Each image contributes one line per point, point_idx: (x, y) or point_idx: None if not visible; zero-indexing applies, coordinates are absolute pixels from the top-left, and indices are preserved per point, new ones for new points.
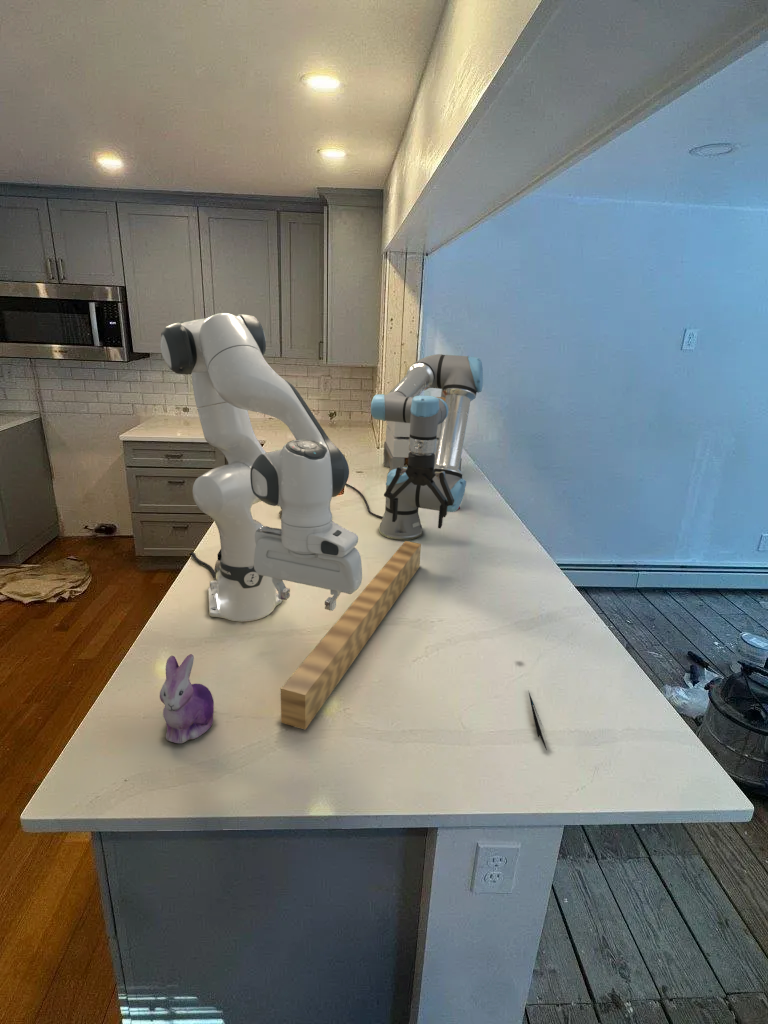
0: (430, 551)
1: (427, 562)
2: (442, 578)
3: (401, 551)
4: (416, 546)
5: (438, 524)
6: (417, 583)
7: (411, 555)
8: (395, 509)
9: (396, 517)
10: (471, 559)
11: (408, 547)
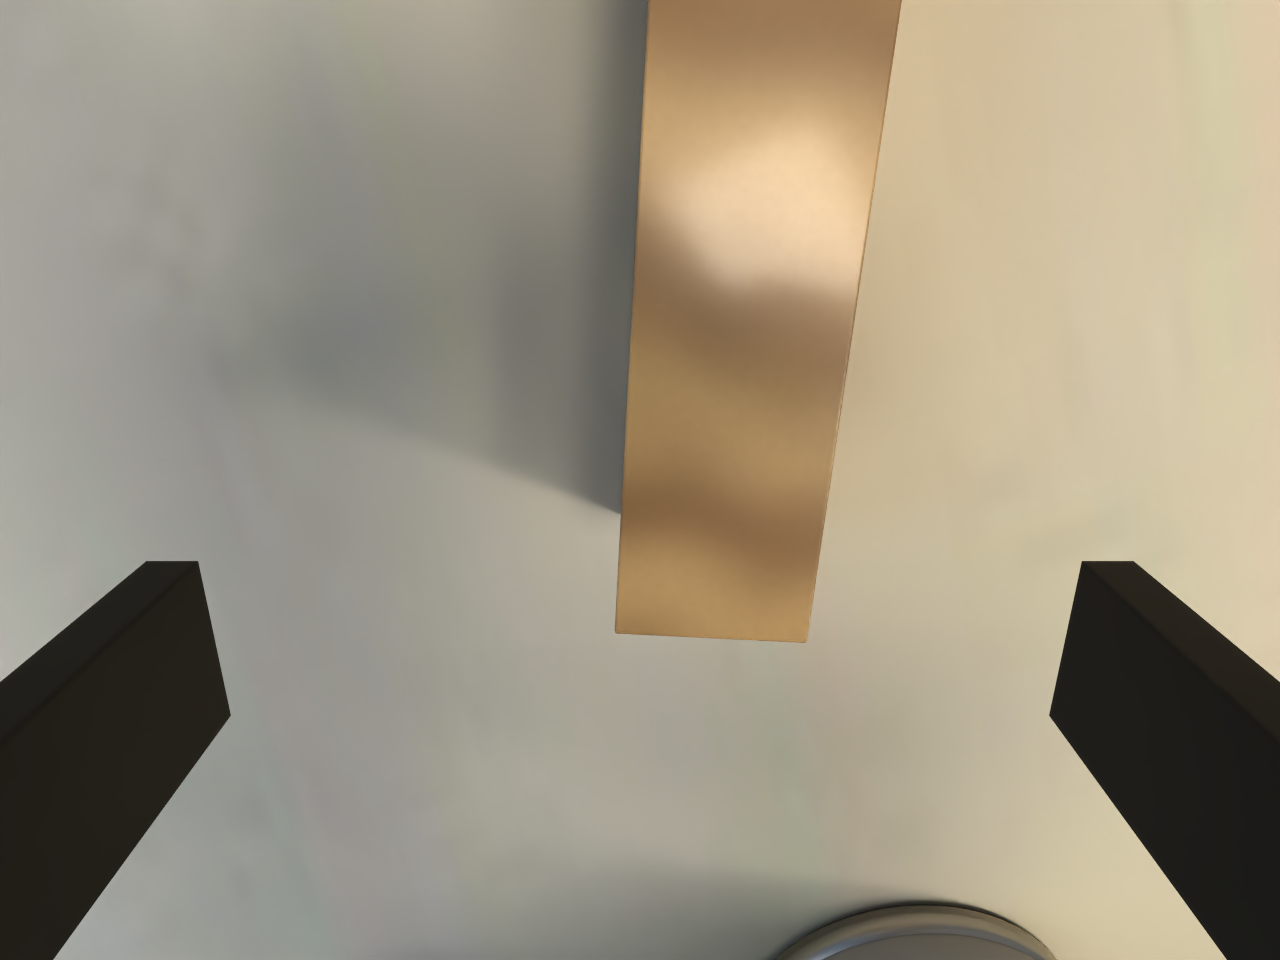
0: (605, 809)
1: (578, 620)
2: (370, 369)
3: (791, 333)
4: (647, 542)
5: (149, 600)
6: (555, 179)
7: (642, 257)
8: (1260, 741)
9: (1082, 700)
10: (262, 782)
11: (732, 481)
